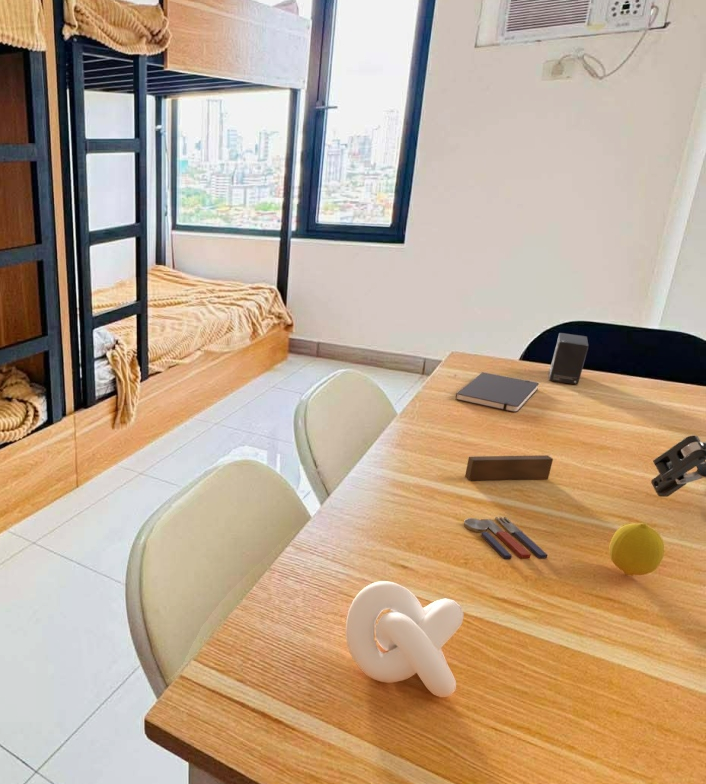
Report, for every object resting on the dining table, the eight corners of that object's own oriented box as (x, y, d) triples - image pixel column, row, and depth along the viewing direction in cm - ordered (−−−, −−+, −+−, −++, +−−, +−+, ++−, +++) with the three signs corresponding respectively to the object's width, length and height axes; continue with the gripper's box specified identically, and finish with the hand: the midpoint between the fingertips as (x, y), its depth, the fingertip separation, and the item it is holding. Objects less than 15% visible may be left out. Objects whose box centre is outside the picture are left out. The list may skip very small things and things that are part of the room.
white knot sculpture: (491, 713, 64) (508, 642, 61) (377, 721, 63) (389, 651, 60) (430, 634, 74) (443, 571, 71) (332, 641, 73) (341, 577, 70)
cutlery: (549, 558, 88) (550, 554, 88) (496, 559, 88) (497, 555, 88) (505, 519, 98) (506, 515, 98) (458, 519, 98) (458, 515, 98)
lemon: (661, 591, 81) (679, 538, 79) (610, 582, 83) (626, 530, 80) (644, 567, 86) (661, 516, 83) (597, 559, 88) (611, 509, 85)
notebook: (481, 377, 162) (455, 399, 147) (482, 371, 161) (456, 393, 147) (538, 388, 154) (516, 413, 139) (539, 382, 153) (517, 406, 138)
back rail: (542, 475, 111) (547, 455, 110) (548, 479, 110) (553, 458, 109) (464, 476, 111) (468, 456, 110) (469, 480, 110) (473, 460, 109)
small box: (579, 385, 155) (590, 345, 152) (548, 381, 159) (557, 341, 155) (578, 374, 163) (588, 335, 160) (548, 370, 167) (557, 332, 163)
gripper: (869, 380, 61) (746, 460, 74) (711, 383, 62) (618, 461, 75) (922, 448, 57) (781, 519, 70) (752, 449, 58) (645, 519, 71)
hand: (697, 489), depth 73 cm, fingers open, 8 cm apart
